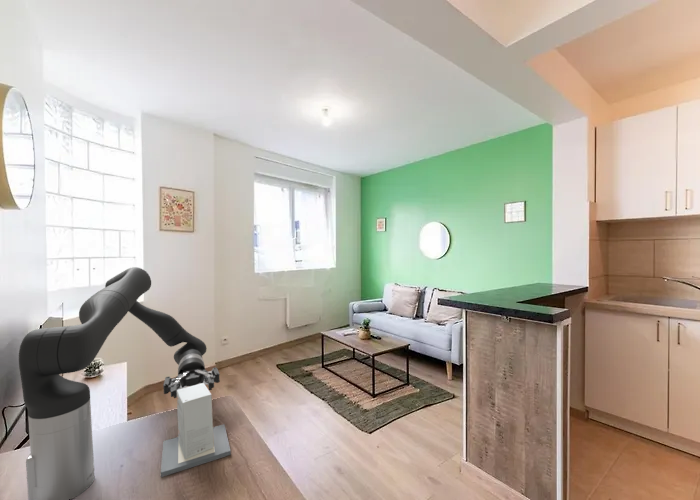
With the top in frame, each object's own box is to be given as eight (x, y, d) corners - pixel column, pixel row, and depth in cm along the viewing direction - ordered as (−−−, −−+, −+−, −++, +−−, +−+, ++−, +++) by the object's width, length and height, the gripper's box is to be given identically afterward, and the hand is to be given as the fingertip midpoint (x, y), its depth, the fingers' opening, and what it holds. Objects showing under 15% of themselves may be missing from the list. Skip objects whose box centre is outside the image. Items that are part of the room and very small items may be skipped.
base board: (160, 477, 67) (160, 472, 67) (163, 444, 78) (163, 440, 77) (230, 454, 74) (230, 450, 73) (224, 427, 84) (224, 423, 84)
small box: (214, 448, 74) (212, 394, 74) (184, 460, 70) (182, 403, 70) (205, 431, 81) (204, 381, 80) (178, 441, 77) (175, 389, 76)
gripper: (164, 361, 96) (161, 383, 81) (215, 352, 102) (221, 371, 88) (165, 386, 96) (163, 411, 82) (216, 375, 103) (222, 397, 88)
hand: (193, 390), depth 85 cm, fingers open, 8 cm apart
